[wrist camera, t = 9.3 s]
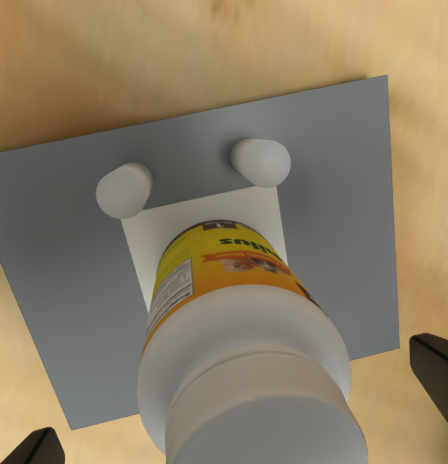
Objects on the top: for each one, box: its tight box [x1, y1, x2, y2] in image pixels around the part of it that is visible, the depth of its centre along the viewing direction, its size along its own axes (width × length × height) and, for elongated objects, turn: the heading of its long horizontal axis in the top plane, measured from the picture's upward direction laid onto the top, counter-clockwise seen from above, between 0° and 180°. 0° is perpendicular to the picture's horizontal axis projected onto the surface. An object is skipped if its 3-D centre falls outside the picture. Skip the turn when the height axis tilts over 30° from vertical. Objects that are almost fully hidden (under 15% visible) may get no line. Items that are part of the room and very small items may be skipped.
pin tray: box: [0, 75, 400, 431], centre depth 15 cm, size 18×14×5 cm
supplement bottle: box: [137, 219, 368, 464], centre depth 11 cm, size 6×6×10 cm
